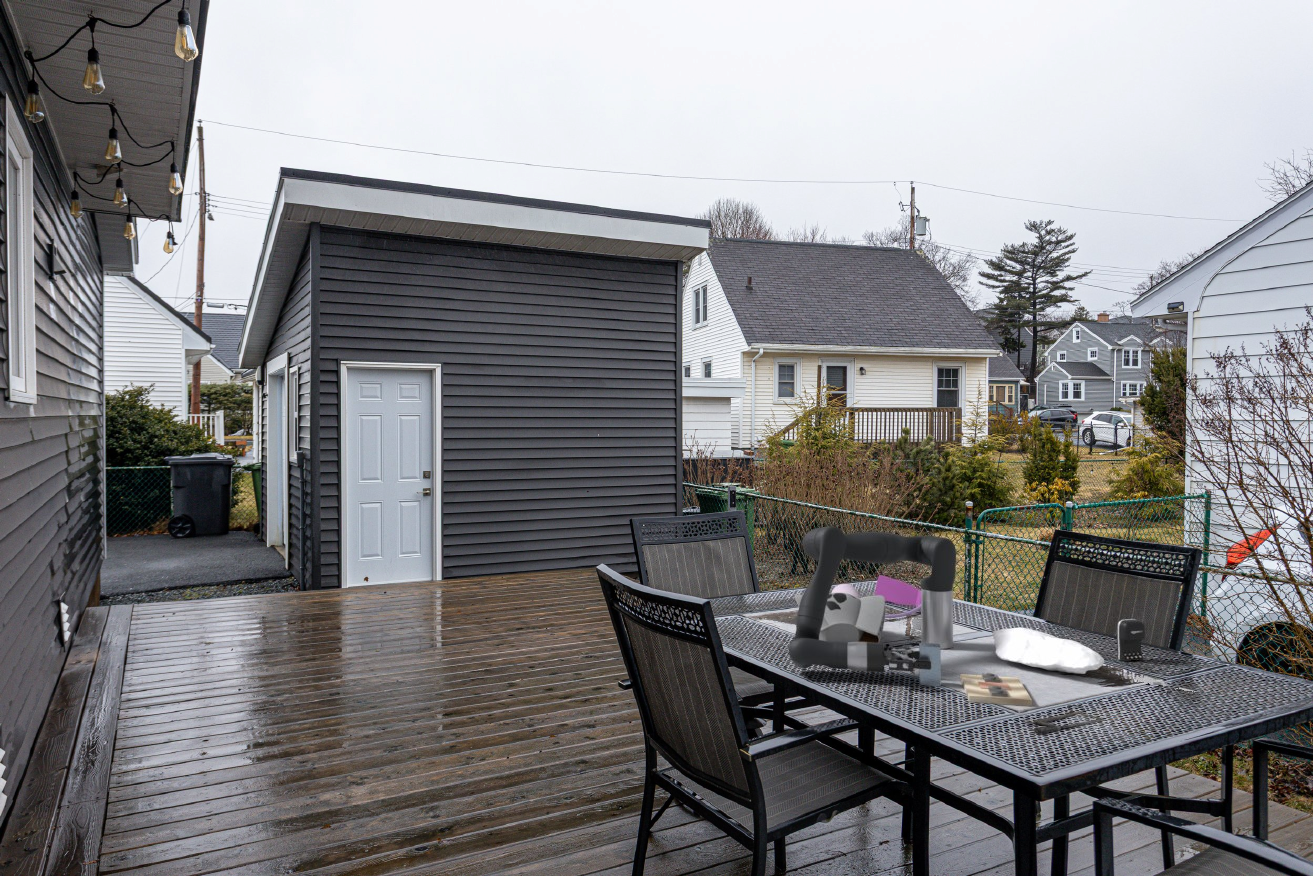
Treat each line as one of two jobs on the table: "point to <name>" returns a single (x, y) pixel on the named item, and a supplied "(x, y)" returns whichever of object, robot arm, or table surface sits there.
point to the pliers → (1156, 682)
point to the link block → (934, 655)
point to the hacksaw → (1052, 727)
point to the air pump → (889, 593)
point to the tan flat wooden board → (995, 689)
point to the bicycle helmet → (852, 618)
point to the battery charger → (1130, 639)
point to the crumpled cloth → (1045, 651)
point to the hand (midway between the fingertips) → (929, 660)
